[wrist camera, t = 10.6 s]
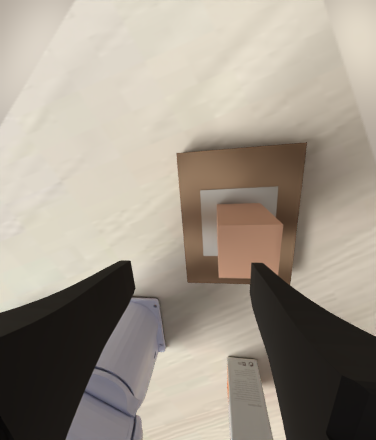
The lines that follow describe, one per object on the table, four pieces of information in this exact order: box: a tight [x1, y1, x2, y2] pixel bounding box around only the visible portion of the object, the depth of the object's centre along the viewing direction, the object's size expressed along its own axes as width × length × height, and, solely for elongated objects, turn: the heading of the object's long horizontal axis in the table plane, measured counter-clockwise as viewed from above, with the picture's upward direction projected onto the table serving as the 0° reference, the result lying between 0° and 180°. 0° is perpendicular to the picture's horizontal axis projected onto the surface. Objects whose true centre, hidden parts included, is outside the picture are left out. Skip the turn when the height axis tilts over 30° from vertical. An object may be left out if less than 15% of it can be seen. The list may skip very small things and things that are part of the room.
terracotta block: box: [217, 203, 283, 279], centre depth 15 cm, size 4×4×6 cm
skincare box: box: [227, 357, 273, 440], centre depth 21 cm, size 6×4×12 cm
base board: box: [177, 142, 307, 285], centre depth 19 cm, size 14×11×2 cm
